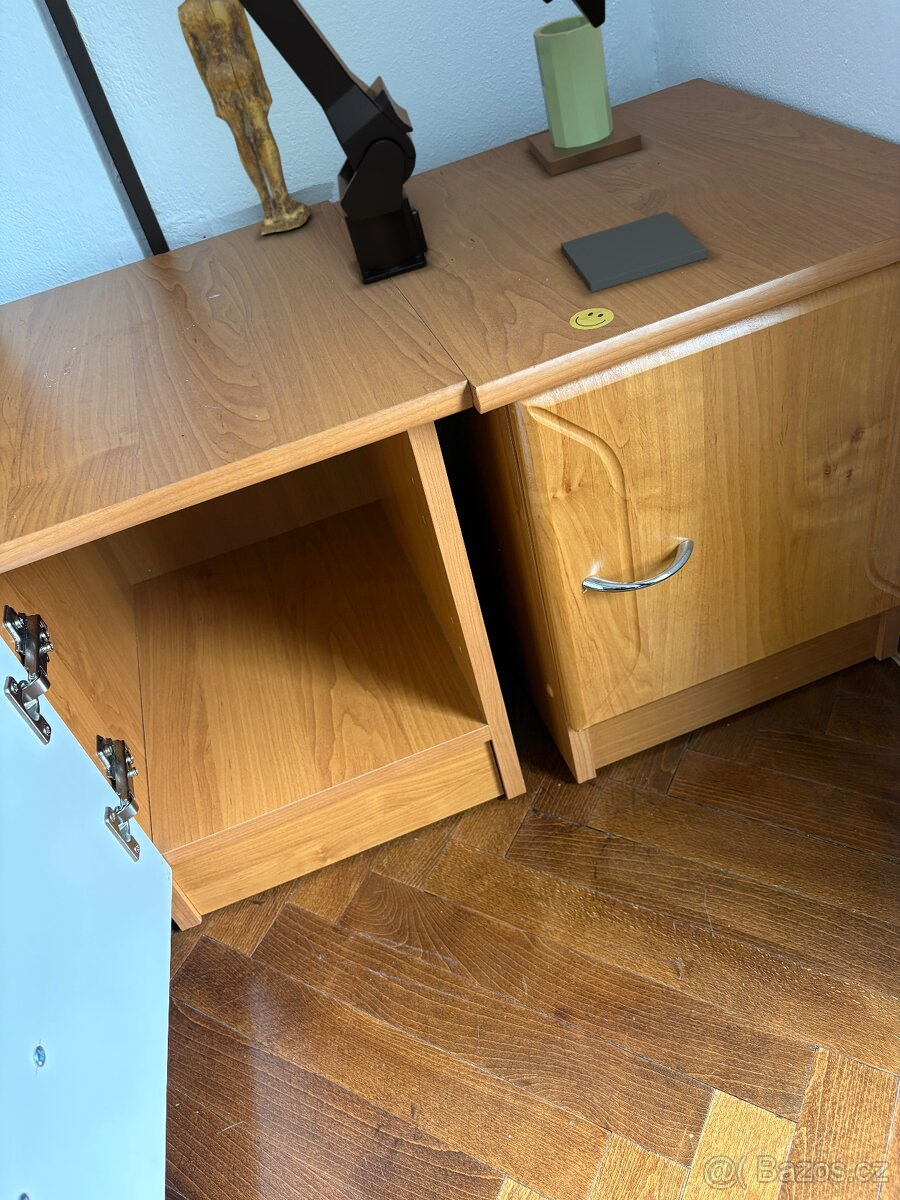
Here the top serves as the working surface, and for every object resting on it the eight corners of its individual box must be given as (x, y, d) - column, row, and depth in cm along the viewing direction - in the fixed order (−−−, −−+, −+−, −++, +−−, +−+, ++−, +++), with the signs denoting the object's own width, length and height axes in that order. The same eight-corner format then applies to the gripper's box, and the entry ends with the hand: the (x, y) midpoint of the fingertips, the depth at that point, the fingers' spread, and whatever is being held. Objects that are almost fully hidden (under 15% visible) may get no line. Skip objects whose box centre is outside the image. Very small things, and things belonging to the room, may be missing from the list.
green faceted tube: (560, 153, 107) (542, 40, 101) (545, 137, 113) (527, 29, 106) (620, 135, 107) (606, 20, 100) (602, 120, 112) (588, 10, 105)
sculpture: (320, 211, 116) (222, -94, 97) (309, 233, 112) (204, -84, 93) (265, 223, 118) (159, -76, 99) (252, 245, 113) (138, -65, 94)
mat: (591, 292, 84) (590, 283, 83) (561, 251, 92) (560, 243, 91) (707, 257, 84) (707, 248, 83) (668, 219, 91) (667, 211, 91)
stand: (551, 176, 107) (540, 112, 103) (530, 151, 115) (519, 91, 111) (642, 148, 107) (635, 83, 103) (614, 125, 115) (607, 64, 111)
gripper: (659, -235, 72) (708, -19, 84) (542, -251, 85) (598, -61, 96) (530, -141, 73) (596, 60, 84) (432, -171, 85) (501, 8, 97)
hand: (574, 12), depth 90 cm, fingers open, 9 cm apart
